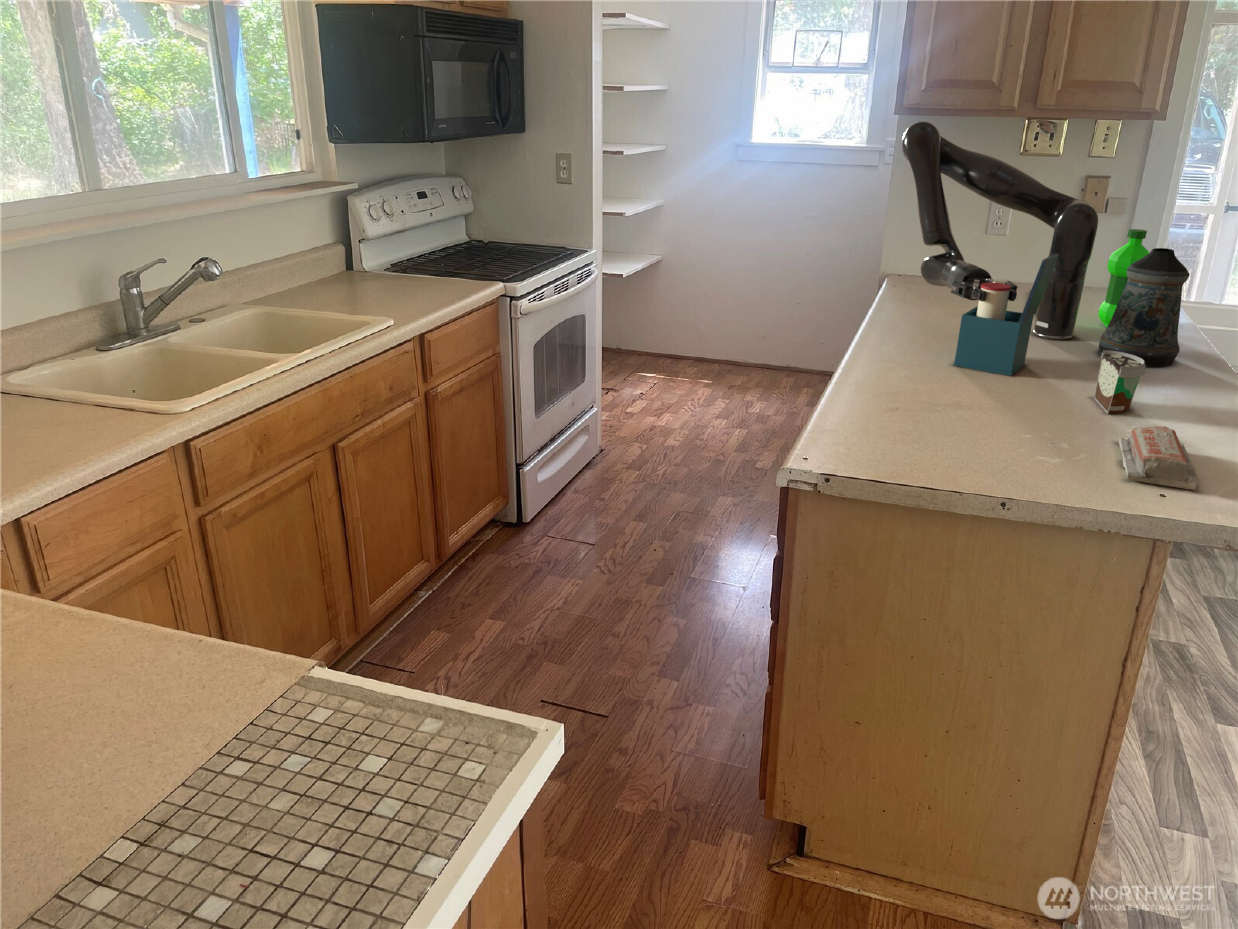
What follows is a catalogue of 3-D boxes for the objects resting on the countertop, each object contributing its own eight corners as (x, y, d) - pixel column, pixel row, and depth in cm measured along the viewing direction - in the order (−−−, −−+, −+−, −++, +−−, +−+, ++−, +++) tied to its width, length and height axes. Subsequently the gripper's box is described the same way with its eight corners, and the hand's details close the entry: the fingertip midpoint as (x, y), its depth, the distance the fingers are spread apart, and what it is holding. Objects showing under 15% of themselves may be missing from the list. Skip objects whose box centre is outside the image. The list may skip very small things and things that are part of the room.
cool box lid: (1042, 259, 181) (1046, 261, 181) (1055, 252, 189) (1059, 253, 188) (1019, 320, 188) (1023, 322, 187) (1032, 311, 196) (1036, 312, 195)
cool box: (953, 365, 200) (961, 315, 195) (968, 355, 207) (976, 306, 203) (1010, 375, 193) (1020, 323, 188) (1024, 364, 200) (1033, 314, 195)
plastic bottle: (1129, 333, 225) (1152, 234, 215) (1087, 325, 232) (1108, 230, 222) (1144, 326, 231) (1167, 230, 221) (1102, 319, 238) (1123, 226, 228)
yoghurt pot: (978, 324, 201) (986, 281, 197) (1006, 328, 198) (1014, 284, 194) (970, 329, 197) (977, 285, 193) (998, 334, 194) (1006, 289, 189)
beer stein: (1103, 364, 200) (1129, 254, 190) (1088, 342, 217) (1110, 240, 207) (1185, 370, 196) (1215, 258, 186) (1162, 347, 213) (1189, 244, 203)
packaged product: (1205, 464, 136) (1133, 454, 139) (1197, 492, 138) (1126, 482, 141) (1188, 426, 151) (1123, 418, 154) (1181, 451, 153) (1117, 443, 156)
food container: (1144, 418, 168) (1157, 369, 164) (1110, 416, 169) (1122, 367, 165) (1124, 398, 179) (1135, 351, 175) (1091, 396, 180) (1102, 349, 176)
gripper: (941, 265, 206) (969, 280, 190) (1001, 264, 206) (1034, 279, 191) (936, 296, 209) (964, 313, 193) (995, 295, 209) (1028, 313, 194)
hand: (999, 296), depth 192 cm, fingers closed on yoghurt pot, 6 cm apart
